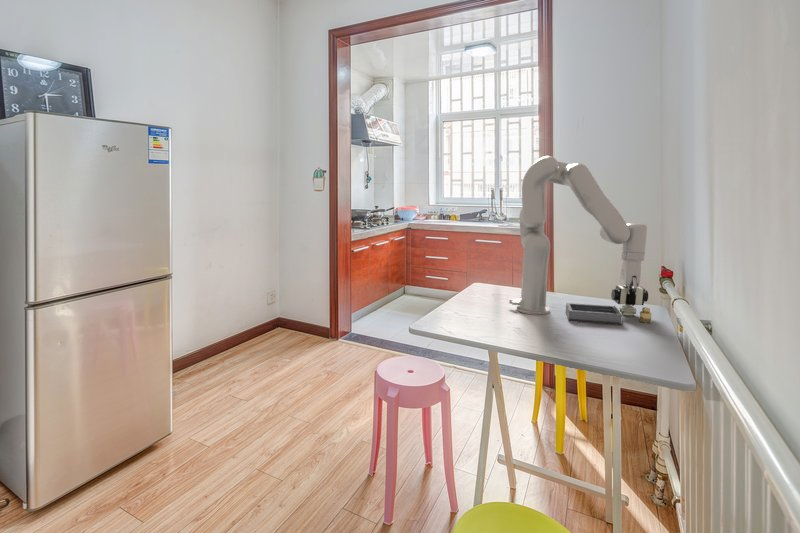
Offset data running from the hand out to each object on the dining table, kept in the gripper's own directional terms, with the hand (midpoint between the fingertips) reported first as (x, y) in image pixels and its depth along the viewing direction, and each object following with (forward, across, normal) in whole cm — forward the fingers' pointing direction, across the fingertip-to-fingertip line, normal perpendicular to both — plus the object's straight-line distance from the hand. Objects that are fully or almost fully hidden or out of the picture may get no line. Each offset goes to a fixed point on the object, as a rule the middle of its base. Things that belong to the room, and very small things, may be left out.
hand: (628, 302), depth 161 cm
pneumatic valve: (+5, 0, 0) cm, 5 cm away
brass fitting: (+5, +8, +4) cm, 11 cm away
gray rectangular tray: (+5, +10, -14) cm, 18 cm away
